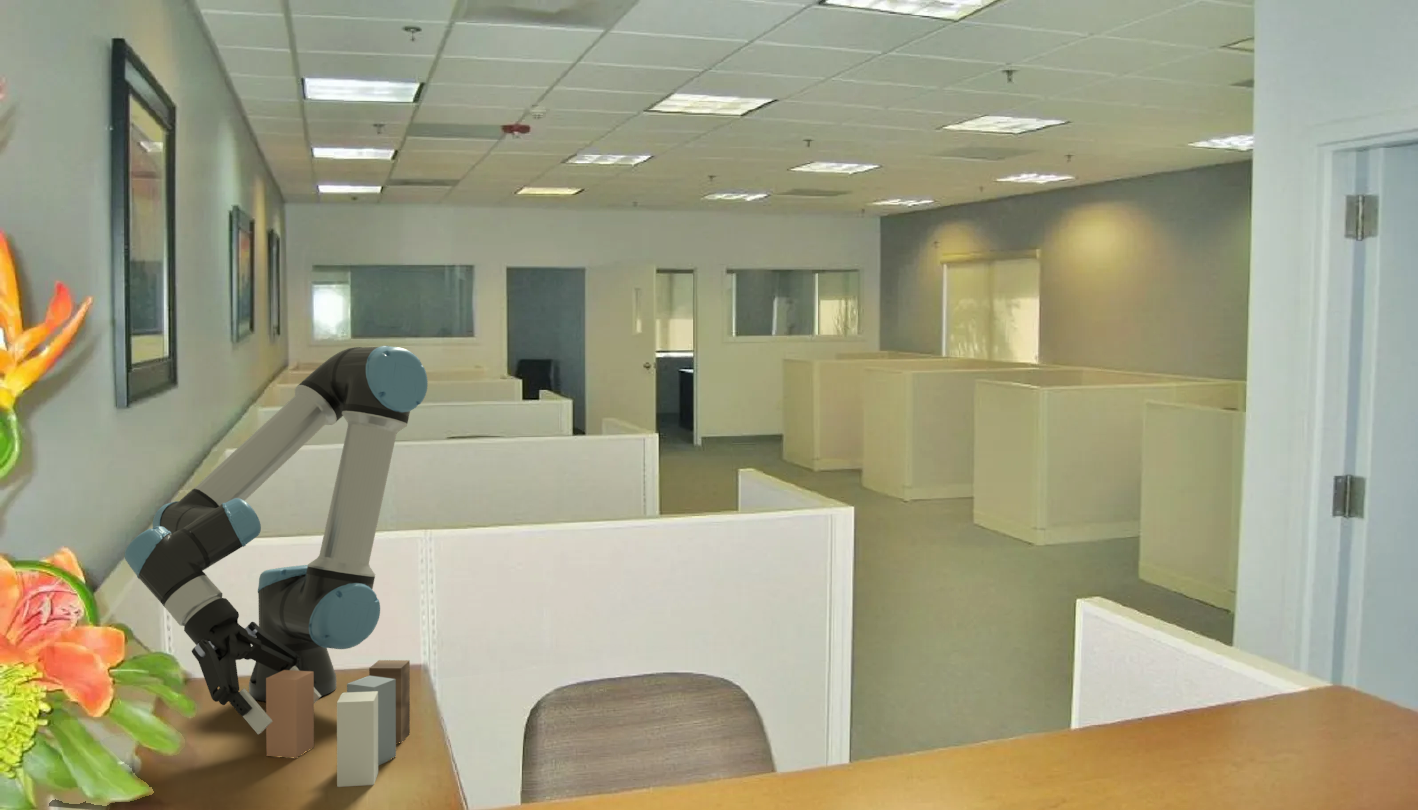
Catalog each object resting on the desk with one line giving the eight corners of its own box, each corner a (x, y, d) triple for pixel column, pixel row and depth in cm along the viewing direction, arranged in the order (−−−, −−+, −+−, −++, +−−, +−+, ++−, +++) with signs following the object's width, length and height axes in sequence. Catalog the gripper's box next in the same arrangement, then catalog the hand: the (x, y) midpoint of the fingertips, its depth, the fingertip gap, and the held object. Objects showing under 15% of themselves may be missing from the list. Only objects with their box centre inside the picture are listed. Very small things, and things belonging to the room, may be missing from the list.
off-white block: (342, 774, 163) (342, 692, 163) (378, 772, 164) (378, 691, 164) (337, 786, 158) (336, 702, 158) (373, 784, 159) (373, 700, 159)
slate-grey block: (369, 753, 173) (369, 675, 172) (395, 757, 171) (395, 678, 170) (347, 763, 168) (346, 683, 168) (374, 767, 166) (373, 687, 166)
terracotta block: (284, 746, 176) (284, 669, 176) (313, 748, 175) (313, 671, 175) (266, 756, 171) (266, 678, 171) (296, 758, 170) (296, 679, 170)
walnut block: (379, 733, 182) (378, 660, 182) (409, 733, 182) (409, 660, 182) (369, 743, 177) (369, 668, 177) (401, 743, 177) (400, 668, 177)
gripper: (236, 612, 187) (318, 707, 185) (132, 646, 163) (225, 756, 160) (265, 582, 186) (348, 677, 184) (165, 612, 162) (259, 722, 159)
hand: (291, 714), depth 172 cm, fingers open, 13 cm apart
